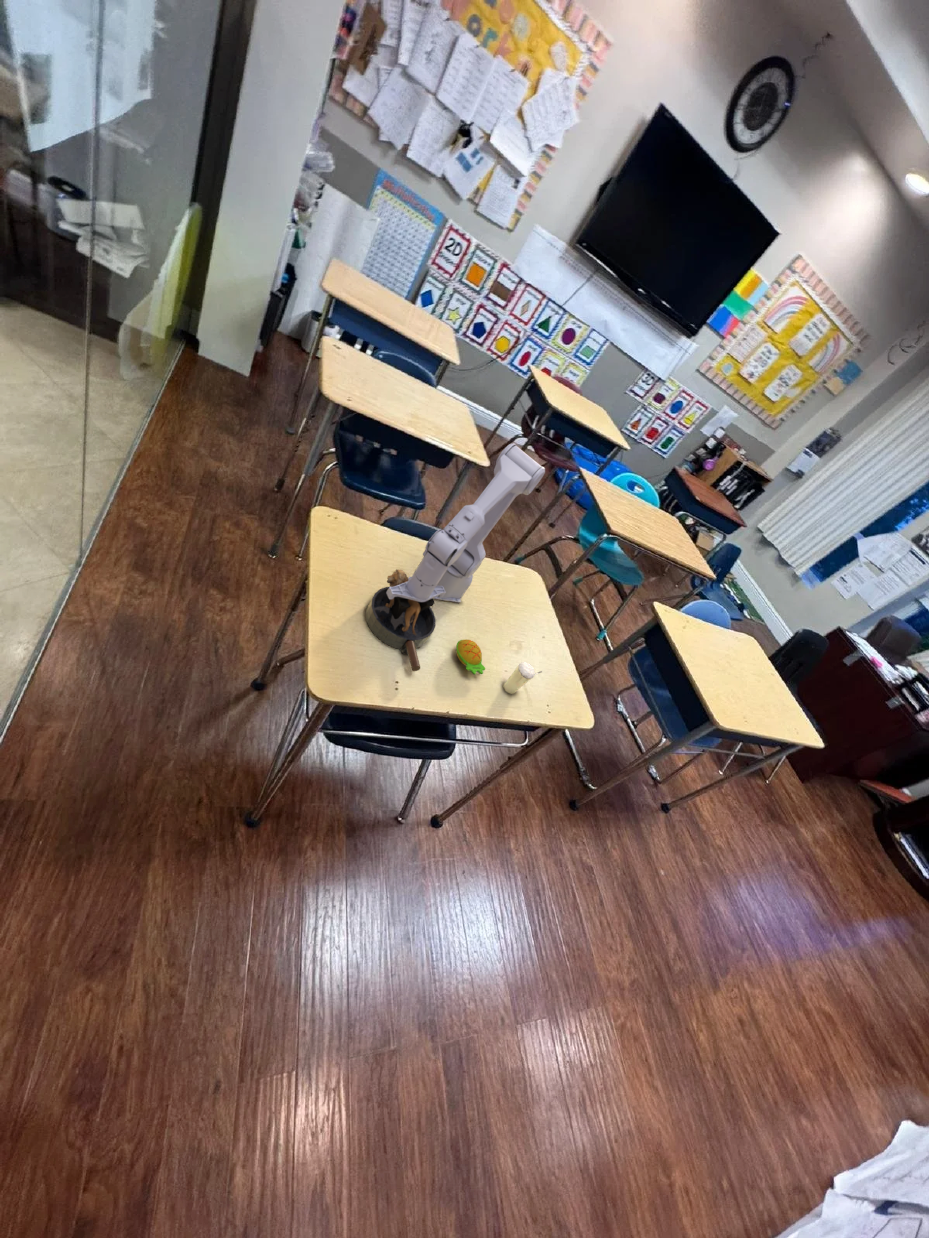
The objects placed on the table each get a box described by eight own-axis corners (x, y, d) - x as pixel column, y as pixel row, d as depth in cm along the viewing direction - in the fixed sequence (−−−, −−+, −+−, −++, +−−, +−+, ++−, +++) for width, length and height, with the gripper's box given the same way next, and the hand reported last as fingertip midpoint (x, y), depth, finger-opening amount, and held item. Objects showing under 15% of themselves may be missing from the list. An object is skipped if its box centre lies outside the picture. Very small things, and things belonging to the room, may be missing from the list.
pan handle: (400, 649, 118) (407, 639, 116) (408, 650, 119) (415, 639, 117) (406, 676, 114) (413, 665, 111) (414, 676, 115) (421, 666, 113)
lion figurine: (371, 594, 123) (389, 566, 118) (387, 593, 127) (405, 566, 123) (407, 638, 117) (427, 610, 113) (422, 635, 122) (442, 608, 118)
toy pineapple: (469, 646, 130) (479, 633, 127) (484, 679, 125) (495, 667, 122) (446, 646, 126) (456, 633, 123) (461, 681, 121) (472, 668, 118)
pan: (420, 601, 132) (427, 591, 130) (435, 652, 123) (442, 642, 120) (361, 593, 124) (366, 581, 121) (371, 647, 114) (377, 636, 112)
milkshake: (518, 700, 126) (541, 678, 120) (499, 691, 125) (522, 668, 119) (520, 687, 130) (542, 664, 123) (502, 677, 129) (523, 654, 122)
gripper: (445, 563, 119) (421, 601, 128) (391, 562, 110) (369, 603, 119) (458, 586, 116) (432, 623, 125) (404, 587, 107) (380, 627, 116)
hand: (402, 615), depth 122 cm, fingers closed on lion figurine, 4 cm apart
